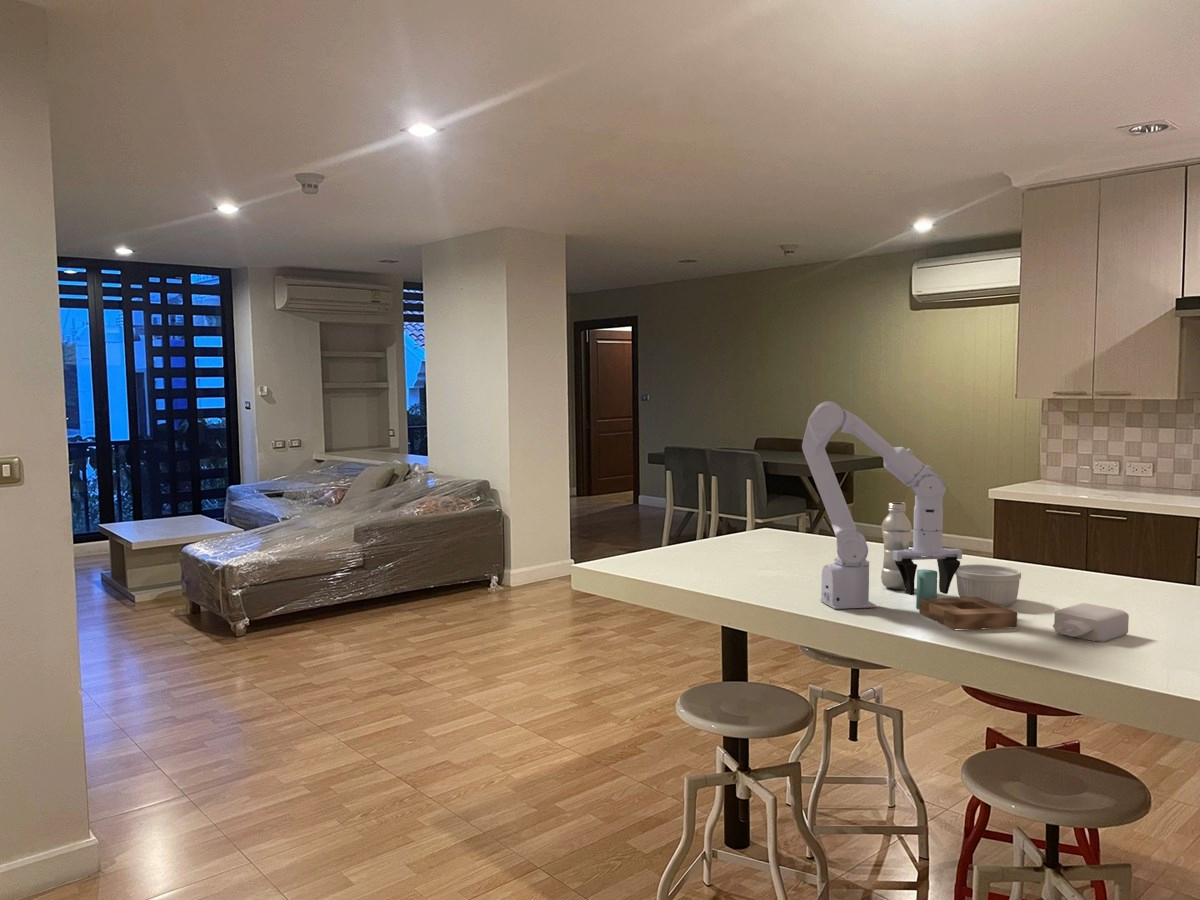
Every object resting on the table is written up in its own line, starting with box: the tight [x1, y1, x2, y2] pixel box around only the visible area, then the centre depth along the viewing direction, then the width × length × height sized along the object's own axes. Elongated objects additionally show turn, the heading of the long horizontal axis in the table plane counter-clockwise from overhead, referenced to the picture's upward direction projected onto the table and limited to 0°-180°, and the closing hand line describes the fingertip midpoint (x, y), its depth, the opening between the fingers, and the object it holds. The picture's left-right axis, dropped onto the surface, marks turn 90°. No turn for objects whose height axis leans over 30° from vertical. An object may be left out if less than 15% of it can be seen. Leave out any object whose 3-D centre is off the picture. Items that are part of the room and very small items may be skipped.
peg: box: [915, 568, 938, 610], centre depth 179 cm, size 4×4×8 cm
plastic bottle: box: [880, 501, 912, 590], centre depth 198 cm, size 6×7×20 cm
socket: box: [918, 597, 1018, 631], centre depth 170 cm, size 13×13×3 cm
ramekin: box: [954, 563, 1022, 607], centre depth 187 cm, size 13×13×7 cm
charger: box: [1052, 602, 1130, 643], centre depth 158 cm, size 5×9×15 cm
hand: (926, 593), depth 179 cm, fingers open, 7 cm apart
